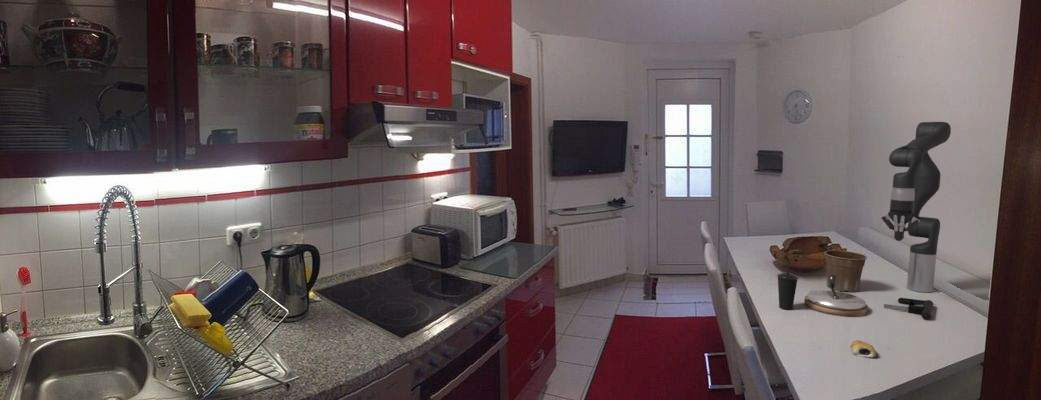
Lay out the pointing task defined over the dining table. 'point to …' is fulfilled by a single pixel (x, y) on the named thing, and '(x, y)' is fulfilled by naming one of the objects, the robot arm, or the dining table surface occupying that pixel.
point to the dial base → (836, 310)
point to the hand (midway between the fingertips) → (898, 240)
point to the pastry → (862, 349)
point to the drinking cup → (786, 289)
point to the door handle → (914, 307)
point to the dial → (835, 298)
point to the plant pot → (845, 269)
